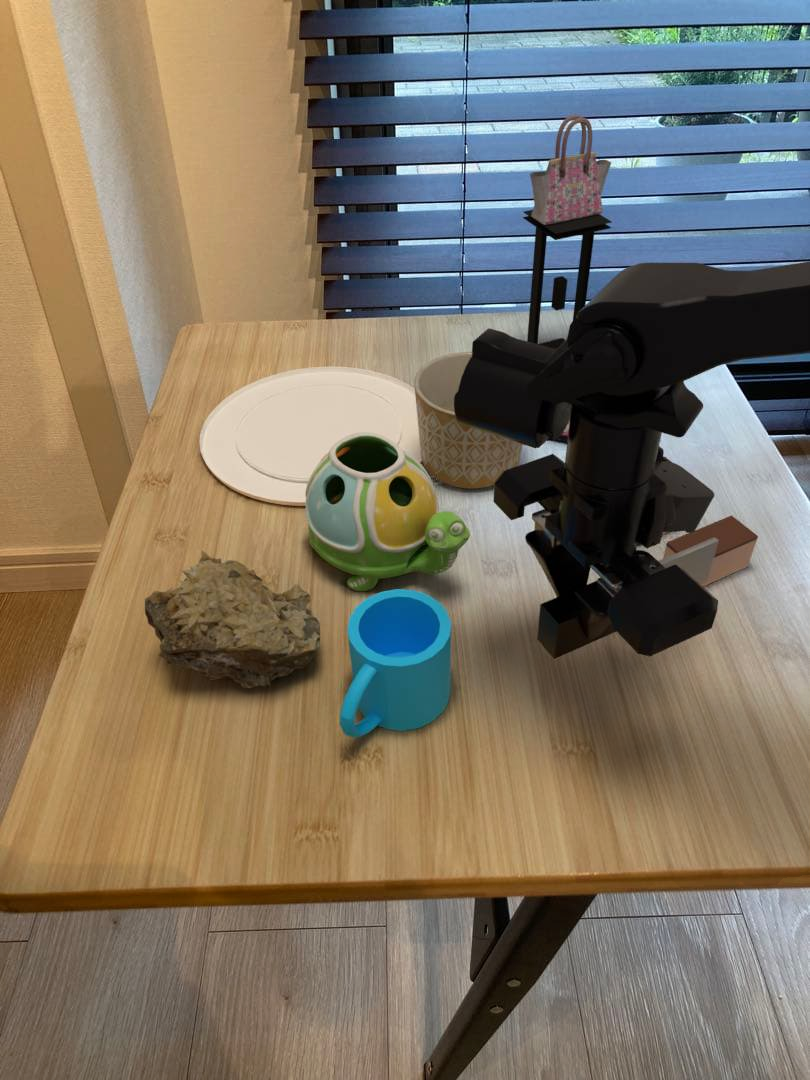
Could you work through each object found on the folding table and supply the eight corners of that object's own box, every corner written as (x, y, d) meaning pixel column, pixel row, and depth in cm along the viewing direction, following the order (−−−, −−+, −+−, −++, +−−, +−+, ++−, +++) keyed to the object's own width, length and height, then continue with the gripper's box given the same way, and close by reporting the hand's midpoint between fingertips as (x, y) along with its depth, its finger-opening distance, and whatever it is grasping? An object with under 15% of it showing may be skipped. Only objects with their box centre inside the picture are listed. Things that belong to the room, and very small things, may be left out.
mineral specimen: (345, 602, 80) (336, 522, 73) (311, 713, 70) (297, 633, 64) (200, 586, 82) (178, 508, 75) (147, 692, 72) (118, 613, 66)
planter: (521, 430, 100) (529, 352, 93) (530, 498, 91) (540, 417, 84) (414, 428, 100) (415, 350, 93) (412, 496, 91) (413, 415, 84)
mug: (389, 640, 76) (385, 575, 71) (468, 678, 73) (470, 613, 67) (306, 735, 69) (295, 671, 63) (389, 782, 65) (385, 719, 60)
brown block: (748, 566, 82) (758, 536, 79) (683, 595, 79) (692, 564, 77) (722, 545, 84) (731, 515, 82) (659, 572, 82) (666, 542, 79)
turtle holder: (414, 639, 76) (412, 541, 68) (284, 548, 86) (268, 453, 78) (500, 568, 83) (507, 471, 75) (370, 491, 92) (364, 398, 84)
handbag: (532, 383, 108) (553, 133, 88) (504, 357, 113) (518, 114, 93) (602, 365, 111) (638, 118, 91) (572, 340, 116) (599, 101, 96)
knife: (554, 660, 64) (558, 619, 61) (536, 639, 66) (540, 599, 63) (715, 587, 70) (727, 547, 67) (695, 570, 71) (706, 529, 68)
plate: (430, 367, 111) (430, 362, 111) (444, 502, 90) (444, 497, 90) (218, 375, 111) (217, 370, 110) (182, 512, 90) (181, 507, 90)
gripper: (810, 505, 52) (748, 669, 62) (619, 368, 64) (594, 523, 75) (666, 565, 48) (626, 728, 58) (494, 408, 61) (486, 565, 71)
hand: (582, 625), depth 66 cm, fingers closed on knife, 2 cm apart
